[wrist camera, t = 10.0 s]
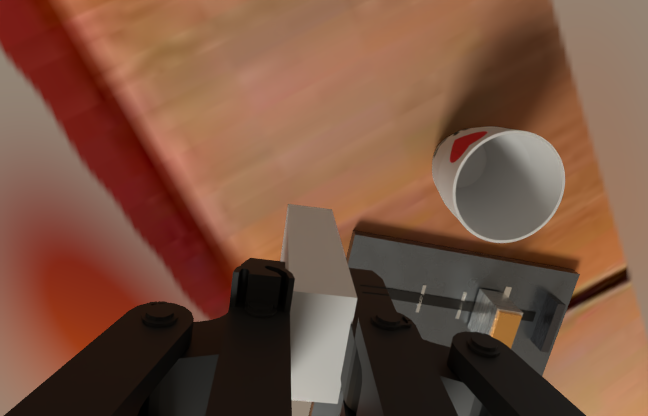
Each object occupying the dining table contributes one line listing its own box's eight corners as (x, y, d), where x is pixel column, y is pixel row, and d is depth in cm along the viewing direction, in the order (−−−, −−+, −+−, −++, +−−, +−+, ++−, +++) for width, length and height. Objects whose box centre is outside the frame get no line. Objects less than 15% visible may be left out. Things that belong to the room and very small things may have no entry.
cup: (499, 106, 44) (560, 118, 34) (508, 194, 46) (569, 228, 37) (408, 127, 44) (445, 145, 34) (422, 214, 46) (460, 254, 36)
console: (352, 230, 46) (358, 242, 43) (572, 269, 49) (592, 283, 46) (308, 415, 51) (310, 438, 48) (510, 440, 54) (524, 463, 51)
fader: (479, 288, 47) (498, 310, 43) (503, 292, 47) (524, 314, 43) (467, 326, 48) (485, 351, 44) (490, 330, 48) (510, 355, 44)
